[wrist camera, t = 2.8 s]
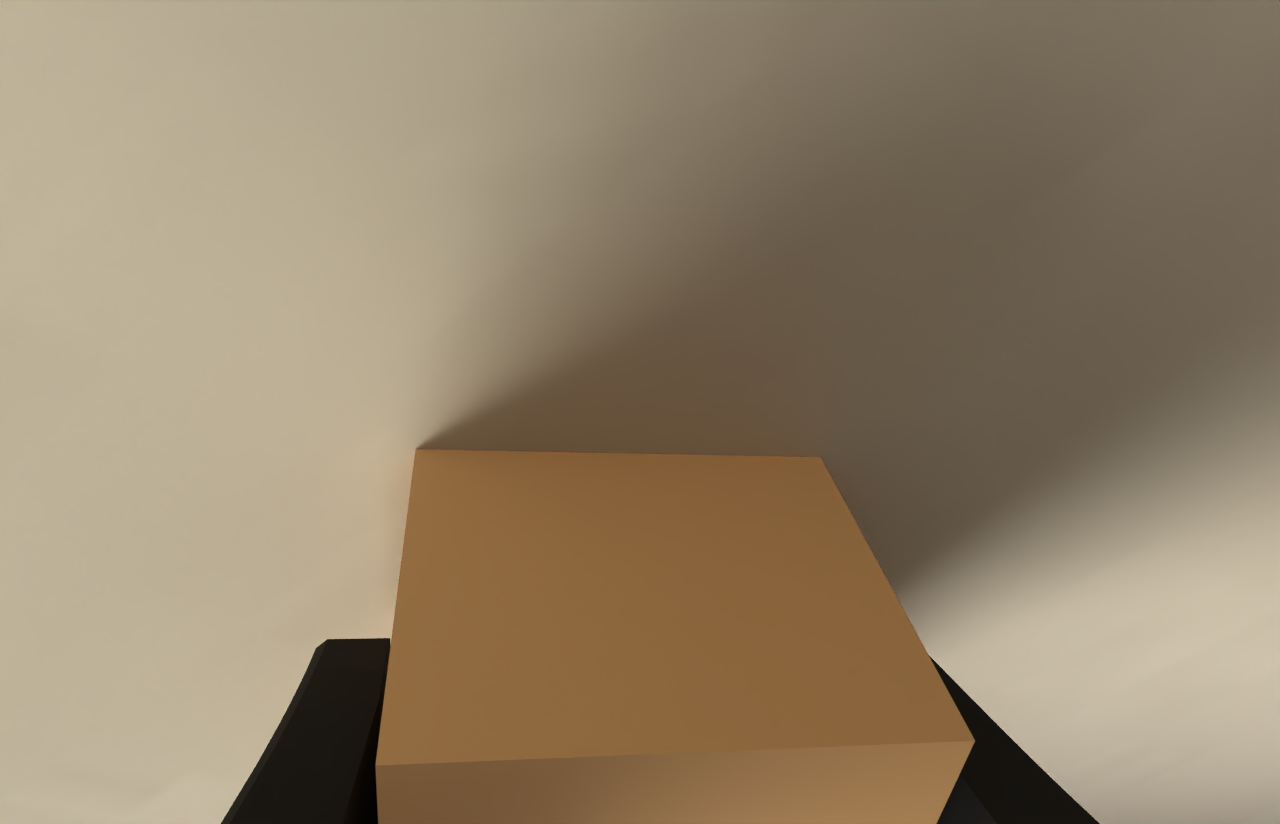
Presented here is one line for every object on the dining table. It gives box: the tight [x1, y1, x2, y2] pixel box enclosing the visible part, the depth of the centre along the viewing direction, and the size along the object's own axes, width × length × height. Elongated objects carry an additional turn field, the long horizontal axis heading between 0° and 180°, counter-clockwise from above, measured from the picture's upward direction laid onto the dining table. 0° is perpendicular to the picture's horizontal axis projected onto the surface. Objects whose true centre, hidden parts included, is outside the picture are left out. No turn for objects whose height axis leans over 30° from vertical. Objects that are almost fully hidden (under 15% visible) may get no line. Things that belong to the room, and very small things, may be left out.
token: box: [375, 449, 975, 824], centre depth 9 cm, size 4×4×4 cm
